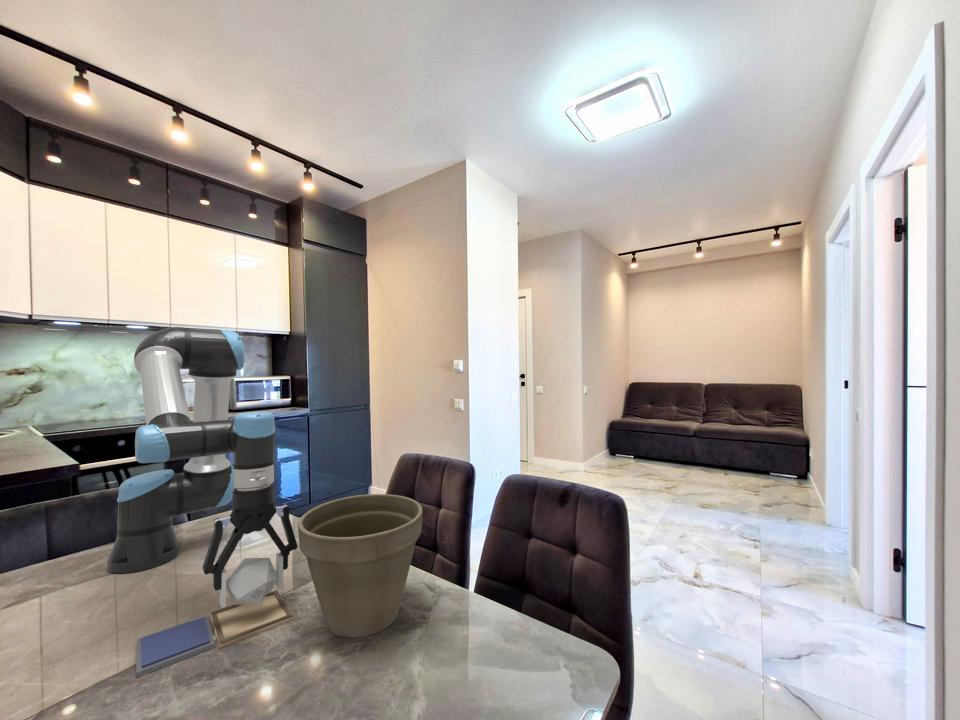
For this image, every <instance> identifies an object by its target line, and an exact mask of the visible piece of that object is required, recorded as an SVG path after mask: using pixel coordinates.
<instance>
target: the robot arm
mask: <svg viewBox="0 0 960 720" xmlns="http://www.w3.org/2000/svg"><path fill="white" fill-rule="evenodd" d="M133 355H134V356H133V363H134V368H135V369H136V371H137V372H138V373H139V374H140V377H141V378H140V379H141V386H142V387H141V388H142V398H143V406H144V416H145V417H144V418H145V425H143V426H139V427H138V428H137V429H136V430H135V437H134V438H135V439H134V451H135V453H134V456H135V460H136V461H137V463H139V464H151V463H152V464H153V463H166V462H172V461H178V460H186V459H190V460H188V462H186V463H185V464H184V465H183V472H179V473H175V471H174V470H173V469H171V468H170V469H169V468H168V469H161V470H160V469H159V470H153V471H147V472H145V473H141V474H138V475H134V476H132V477H129V478H128V479H125V480H124V481H122V482H121V484H120V486H119V487H118V497H117V498H116V501H117V503H118V505H117V507H118V508H117V522H116V523H117V525H116V526H117V528H116V529H117V530H116V539H115V541H114V544H113V546H112V548H111V551H110V553H109V555H108V558H107V561H106V571H107V570H108V572H109V571H111V572H115V573H114V574H128V573H130V574H131V573H135V572H141V571H144V570H149V569H153V568H155V567H158V566H160V565H164V564H166V563H168V562H171V560H174V559H175V558H176V557H178V556H179V554H180V541H179V539H178V536H177V534H176V531H175V530H174V527H173V524H174V523H173V517H175V516H180V515H186V514H190V513H191V514H192V513H196V512H201V511H206V510H214V509H216V508H219V507H223V506H226V505H228V504H229V503H230V502H231V501H232V507H231V508H232V510H231V513H230V515H229V516H227V517H223V518H220V517H217V518H214V519H213V533H212V537H211V539H210V543H209V546H208V548H207V552H206V555H205V557H204V561H203V564H202V567H201V568H202V571H203V574H204V575H209V574H212V575H213V578H212V579H213V580H212V581H213V582H212V583H213V588H214V591H215V592H216V591H219V598H218V600H219V601H218V602H219V605H220V609H222V608H225V607H227V587H226V580H227V570H226V568H225V567H226V565H228V562H229V561H230V558H231V556H232V555H233V553H234V551H235V550H236V548H237V546H238V544H239V542H240V541H241V540H242V538H243V536H244V534H245V535H249V534H252V533H254V532H260V531H261V532H262V531H263V530H265V531H266V533H267V534H268V535H269V537H270V538H271V540H272V541H273V543H274V544H275V545H276V547H277V549H278V550H279V552H278V553H275V572H276V574H277V576H278V578H279V579H278V581H277V582H276V584H275V586H277V588H278V589H279V590H280V589H283V587H284V571H285V570H288V567H289V556H290V553H291V552H293V551H296V550H297V549H298V543H297V538H296V537H295V536H296V535H295V532H294V529H293V526H292V523H291V520H290V513H291V512H290V511H291V508H290V507H289V506H288V505H287V504H285V503H284V504H282V505H281V506H280V505H279V506H276V505H275V504H274V503H275V502H274V501H275V499H274V497H275V496H274V495H275V493H274V492H275V488H274V487H275V485H274V484H273V483H274V482H275V437H276V435H275V433H276V426H275V424H276V423H275V422H276V421H275V415H274V414H273V413H272V412H269V411H252V412H250V411H248V412H241V413H238V414H236V415H235V416H234V417H233V418H230V419H229V402H230V387H231V386H230V385H231V382H232V380H233V379H235V378H236V377H237V374H238V373H237V371H240V370H243V368H244V365H245V362H246V361H245V349H244V345H243V340H242V338H241V336H240V335H239V334H238V333H237V332H235V331H233V330H225V329H215V328H213V329H212V328H197V327H196V328H194V327H183V326H180V327H179V326H174V327H167V328H163V329H160V330H157V331H155V332H153V333H151V334H149V335H148V336H147V337H145V338H144V339H143V340H142V341H141V342H140V343H139V345H138V346H137V347H136V349H135V352H134V354H133ZM180 370H188V376H189V377H190V378H191V379H193V380H194V393H193V410H192V412H193V413H192V414H193V415H192V420H191V415H190V411H189V407H188V402H187V397H186V392H185V387H184V383H183V378H182V374H181V371H180ZM227 454H229V455H230V454H233V465H232V462H231V461H230V460H229V459H228V458H227V457H226V455H227ZM275 514H277V517H279V518H280V520H281V524H282V527H283V530H284V534H285V537H286V540H287V544H286V545H285V543H284V542H283V540H282V539H281V537H280V536H279V535H278V533H277V532H276V529H274V527H273V526H272V524H271V523H270V522H271V520H272V519H273V518H274V516H275ZM230 523H231V524H232V525H233V526H234V529H233V530H232V532H231V535H230V537H229V538H228V541H227V543H226V544H225V546H224V548H223V549H222V551H221V553H220V554H219V556H218V558H217V555H218V551H219V548H220V546H221V540H222V538H223V534H224V530H227V526H228V525H229V524H230ZM216 558H217V560H216ZM215 561H216V562H215ZM214 563H215V564H214ZM111 572H110V573H111Z"/></svg>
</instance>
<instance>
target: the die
mask: <svg viewBox="0 0 960 720" xmlns="http://www.w3.org/2000/svg"><path fill="white" fill-rule="evenodd" d="M278 579H279V578H278V576H277V574H276V568H274V566H273V563H272V561H271V559H270V557H244V558H243V559H242V561H240V563H239V564H238V565H237V567H236V568H235V569H234V570H233V571H232V573H231V574H230V575H229V576H228V577H227V578H226V590H227V592H228V593H229V595H230V597H231V600H232V602H233V605H234V604H235V605H255V604H261V603H262V602H263V601H264V599H265V598H266V596H267V595H268V594H269V593H270V592H272V589H273V588H274V587H275V586H276V582H277V581H278Z"/></svg>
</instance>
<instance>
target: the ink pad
mask: <svg viewBox="0 0 960 720" xmlns="http://www.w3.org/2000/svg"><path fill="white" fill-rule="evenodd" d="M209 619H210V618H209V616H208V615H206V616H202V617H198V618H196V619H193V620H190V621H187V622H184V623H181V624H178V625H175V626H172V627H170V628H166V629H164V630H160V631H158V632H154V633H151V634H148V635H145V636H143V637H140V638H137V639H136V650H135V651H136V657H135V658H136V659H135V660H136V661H135V665H136V666H135V668H136V669H135V673H136V674H135V677H136V678H140V677H142V676H145V675H148V674H150V673H153V672H155V671H158V670H160V669H163V668H165V667H168V666H171V665H174V664H176V663H179V662H181V661H183V660H186V659H190V658H191V657H193V656H196V655H199V654H202V653H205V652H207V651H210V650H212V649H214V648H216V640H215V637H214V632H213V631H212V630H213V629H212V626H211V622H210V620H209Z"/></svg>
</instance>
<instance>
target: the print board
mask: <svg viewBox="0 0 960 720" xmlns="http://www.w3.org/2000/svg"><path fill="white" fill-rule="evenodd" d="M209 619H210V621H211V622H210V624H211V625H212V626H211V627H212V630H213V634H214V635H215V639H216V640H215V641H216V643H217V647H218V649H219V650H220V649H223V648H225V647H228V646H230V645H233V644H236V643H238V642H241V641H243V640H246V639H248V638H251V637H253V636H256V635H259V634H261V633H264V632H266V631H269V630H271V629H274V628H277V627H279V626H281V625H284V624H287V623H289V622H292V621H294V620H295V616H294V614H293V612H292V611H291V610H290V608H289V607H288V605H287V603H286V602H285V600H284V598H283V597H282V595H281V594H280V592H279V591H278V590H273V591H270V592H269V594H268V595H267V596H266V598H265V599H264V601H263V602H262V603H261V604H255V605H235V604H234V603H233V604H231V605H228V606H226V607H223V608H219V609H217V610H213V611H211V612H210V613H209Z"/></svg>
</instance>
